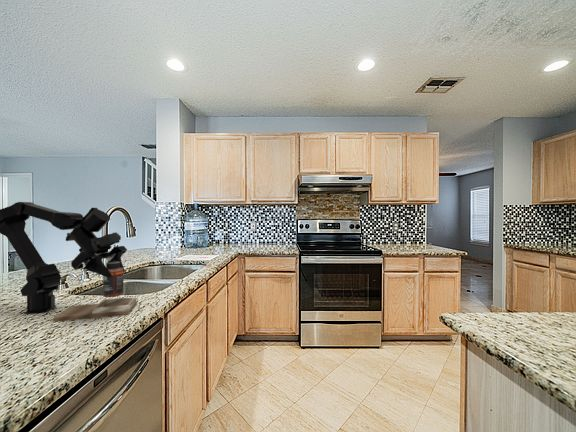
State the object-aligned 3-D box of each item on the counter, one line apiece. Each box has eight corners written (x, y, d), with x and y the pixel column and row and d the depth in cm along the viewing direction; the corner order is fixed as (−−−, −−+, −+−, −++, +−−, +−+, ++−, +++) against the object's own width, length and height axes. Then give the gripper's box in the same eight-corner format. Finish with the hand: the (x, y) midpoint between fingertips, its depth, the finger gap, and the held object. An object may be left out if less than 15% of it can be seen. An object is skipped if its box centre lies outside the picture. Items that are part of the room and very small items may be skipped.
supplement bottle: (126, 292, 98) (126, 260, 98) (119, 297, 92) (120, 263, 92) (107, 293, 96) (107, 260, 96) (99, 298, 91) (99, 263, 91)
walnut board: (53, 321, 87) (53, 312, 87) (71, 309, 98) (71, 301, 98) (128, 314, 93) (128, 306, 93) (136, 303, 104) (136, 296, 104)
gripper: (79, 226, 85) (112, 263, 84) (122, 224, 104) (149, 254, 103) (56, 251, 86) (88, 288, 85) (103, 244, 105) (129, 274, 104)
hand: (117, 274), depth 94 cm, fingers closed on supplement bottle, 6 cm apart
